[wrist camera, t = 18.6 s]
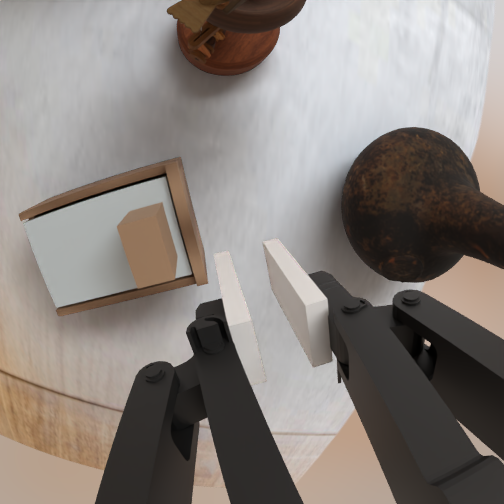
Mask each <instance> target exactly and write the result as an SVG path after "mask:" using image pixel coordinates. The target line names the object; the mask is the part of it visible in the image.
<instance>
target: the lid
mask: <svg viewBox="0 0 504 504" xmlns="http://www.w3.org/2000/svg"><path fill="white" fill-rule="evenodd" d="M23 224H24V227H25V230H26V233H27V236H28V239H29V242H30V245H31V248H32V250H33V253H34V256H35V258H36V261H37V264H38V266H39V269H40V271H41V274H42V276H43V278H44V281H45V283H46V286H47V288H48V290H49V293H50V295H51V297H52V299H53V301H54V304H55V306H56V308H58V307H62V306H66V305H70V304H74V303H78V302H82V301H86V300H90V299H94V298H98V297H102V296H106V295H111V294H115V293H119V292H123V291H127V290H131V289H135V288H138V289H139V288H143V287H147V286H151V285H155V284H159V283H163V282H167V281H171V280H175V278H179V277H183V276H187V275H191V274H192V268H191V264H190V261H189V257H188V254H187V250H186V247H185V243H184V240H183V236H182V232H181V229H180V225H179V221H178V218H177V214H176V210H175V206H174V203H173V199H172V195H171V191H170V187H169V183H168V179H167V176H163V177H159V178H156V179H152V180H148V181H145V182H141V183H138V184H135V185H131V186H128V187H125V188H121V189H118V190H115V191H111V192H108V193H105V194H102V195H99V196H96V197H93V198H90V199H87V200H84V201H81V202H78V203H75V204H72V205H69V206H66V207H63V208H61V209H58V210H55V211H52V212H50V213H47V214H44V215H41V216H39V217H36V218H34V219H31V220H28V221H26V222H25V223H23Z"/></svg>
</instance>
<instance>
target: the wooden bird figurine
mask: <svg viewBox="0 0 504 504" xmlns="http://www.w3.org/2000/svg"><path fill="white" fill-rule="evenodd" d="M305 2H306V0H182V1H180V2H178V3H176V4H174V5H173V6H171V7H169V8H168V9H167V13H168V14H170V15H173V18H174V19H178V20H177V34H178V41H179V45H180V48H181V51H182V52H183V54H184V56H185V57H186V58H187V59H188V61H189V62H190V63H192V64H193V65H194V66H195V67H197V68H199V69H200V70H202V71H205V72H207V73H211V74H215V75H222V76H229V75H237V74H241V73H244V72H247V71H249V70H251V69H253V68H254V67H256V66H257V65H259V64H260V63H261V62H262V61H263V60H264V59H265V58H266V57H267V56H268V55H269V54H270V52H271V51H272V50H273V48H274V47H275V45H276V43H277V41H278V38H279V33H280V27H281V26H283V25H285V24H287V23H288V22H290V21H291V20H292V19H293V18H294V17H295V16H297V14H298V13H299V12H300V11H301V9H302V8H303V6H304V4H305Z"/></svg>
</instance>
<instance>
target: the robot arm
mask: <svg viewBox="0 0 504 504" xmlns="http://www.w3.org/2000/svg"><path fill="white" fill-rule="evenodd" d="M263 247H264V252H265V257H266V262H267V267H268V272H269V277H270V282H271V287H272V291H273V292H274V294H275V296H276V298H277V300H278V302H279V304H280V306H281V308H282V310H283V311H284V313H285V315H286V317H287V319H288V321H289V323H290V325H291V327H292V328H293V330H294V332H295V334H296V336H297V338H298V340H299V342H300V344H301V346H302V347H303V349H304V351H305V353H306V355H307V357H308V359H309V361H310V363H311V364H312V366H313V367H316V366H320V365H323V364H326V363H329V362H332V351H333V353H334V354H335V356H336V357H337V374H338V383H341V377H342V379H343V382H344V384H345V386H346V388H347V390H348V393H349V395H350V397H351V399H352V401H353V404H354V406H355V408H356V410H357V412H358V415H359V417H360V419H361V422H362V424H363V426H364V428H365V430H366V433H367V435H368V438H369V440H370V442H371V444H372V446H373V449H374V451H375V454H376V456H377V458H378V460H379V463H380V465H381V468H382V470H383V472H384V475H385V477H386V479H387V482H388V484H389V486H390V489H391V491H392V493H393V496H394V498H395V501H396V503H397V504H504V464H503V463H502V462H501V461H500V460H499V459H498V458H497V457H494V456H493V455H491V456H482V455H481V454H479V452H478V451H477V450H476V448H475V447H474V445H473V444H472V442H471V441H470V439H469V438H468V436H467V435H466V433H465V432H464V430H463V429H462V427H461V426H460V424H459V423H458V422H457V420H458V421H459V422H460V423H462V424H463V425H464V426H465V427H466V428H467V429H468V430H469V431H471V432H472V433H473V434H474V435H475V436H476V437H477V438H479V439H480V440H481V441H482V442H483V443H484V444H485V445H487V446H488V447H489V448H490V449H491V450H492V451H494V452H495V453H496V454H497V455H498V456H499V457H500V458H501V459H502V460H504V340H503V339H502V338H500V337H498V336H497V335H495V334H493V333H492V332H490V331H488V330H487V329H485V328H483V327H482V326H480V325H478V324H477V323H475V322H474V321H472V320H470V319H468V318H467V317H465V316H463V315H461V314H460V313H458V312H456V311H455V310H453V309H451V308H450V307H448V306H446V305H444V304H443V303H441V302H439V301H437V300H436V299H434V298H432V297H430V296H429V295H427V294H425V293H423V292H421V291H418V290H404V291H401V292H398V293H397V294H396V295H394V298H393V305H387V306H379V307H373V306H372V305H371V304H370V303H369V302H368V301H367V300H365V299H362V298H355V297H352V296H351V295H350V294H349V293H348V292H347V291H346V290H345V289H344V288H343V287H342V286H341V285H340V283H339V282H338V281H336V279H335V278H334V277H333V276H332V275H331V274H328V273H326V272H323V271H320V272H316V273H312V274H309V275H307V273H306V272H305V271H304V270H303V269H302V267H301V266H300V265H299V264H298V263H297V261H296V260H295V259H294V258H293V256H292V255H291V254H290V253H289V252H288V250H287V249H286V248H285V247H284V246H283V244H282V243H281V242H280V241H279V240H278V239H277V238H276V239H272V240H268V241H264V242H263ZM214 260H215V265H216V270H217V275H218V280H219V285H220V290H221V295H222V299H218V300H214V301H210V302H206V303H202V304H200V305H199V306H198V308H197V310H196V320H195V321H194V322H192V323H191V324H190V325H189V326H188V327H187V331H186V334H187V337H188V339H189V342H190V345H191V347H192V350H193V353H194V356H193V357H192V358H191V359H189V360H188V361H187V362H185V363H183V364H181V365H179V366H176V367H173V366H172V365H171V364H170V363H168V362H163V361H158V362H154V363H150V364H148V365H146V366H144V367H143V368H142V369H141V370H140V371H139V372H138V374H137V375H136V377H135V380H134V383H133V386H132V389H131V391H130V394H129V397H128V400H127V403H126V406H125V409H124V411H123V414H122V417H121V420H120V423H119V426H118V429H117V432H116V435H115V439H114V442H113V445H112V448H111V451H110V454H109V457H108V461H107V464H106V467H105V470H104V474H103V477H102V481H101V484H100V488H99V491H98V494H97V498H96V502H95V504H191V503H192V492H193V482H194V472H195V462H196V452H197V443H198V434H199V421H201V420H203V419H205V418H207V417H208V421H209V425H210V429H211V433H212V437H213V441H214V445H215V449H216V453H217V457H218V460H219V464H220V468H221V471H222V475H223V479H224V482H225V486H226V489H227V493H228V496H229V499H230V503H231V504H303V501H302V499H301V497H300V495H299V493H298V491H297V489H296V487H295V485H294V482H293V480H292V478H291V476H290V474H289V472H288V469H287V467H286V465H285V463H284V461H283V459H282V456H281V454H280V452H279V450H278V447H277V445H276V443H275V441H274V438H273V436H272V434H271V432H270V429H269V427H268V425H267V422H266V420H265V418H264V416H263V413H262V411H261V409H260V406H259V404H258V401H257V399H256V397H255V394H254V392H253V390H252V387H251V385H255V384H259V383H263V382H266V381H267V380H266V376H265V372H264V368H263V364H262V360H261V356H260V352H259V348H258V344H257V340H256V335H255V331H254V327H253V323H252V319H251V316H250V313H249V310H248V308H247V305H246V302H245V299H244V296H243V293H242V290H241V287H240V284H239V281H238V278H237V275H236V272H235V269H234V266H233V263H232V260H231V257H230V254H229V251H224V252H220V253H216V254H214ZM425 339H426V340H427V341H429V342H430V343H431V345H430V347H429V346H427V345H425V344H424V342H425ZM456 419H457V420H456Z"/></svg>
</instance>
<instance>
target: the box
mask: <svg viewBox="0 0 504 504" xmlns="http://www.w3.org/2000/svg"><path fill="white" fill-rule="evenodd" d="M163 176H167V179H168V183H169V187H170V191H171V195H172V199H173V203H174V206H175V210H176V214H177V218H178V221H179V225H180V229H181V232H182V236H183V240H184V243H185V247H186V250H187V254H188V257H189V261H190V264H191V268H192V274H191V275H187V276H183V277H179V278H175V280H171V281H167V282H163V283H159V284H155V285H151V286H147V287H143V288H139V289H138V288H135V289H131V290H127V291H123V292H119V293H115V294H111V295H106V296H102V297H98V298H94V299H90V300H86V301H82V302H78V303H74V304H70V305H66V306H62V307H58V309H57V310H56V312H57V314H58V316H64V315H68V314H72V313H77V312H81V311H85V310H89V309H94V308H98V307H102V306H106V305H110V304H115V303H119V302H123V301H127V300H131V299H136V298H140V297H144V296H148V295H152V294H156V293H160V292H164V291H168V290H172V289H176V288H180V287H184V286H189V285H193V284H197V286H200V285H204V284H208V278H207V270H206V262H205V253H204V248H203V244H202V241H201V237H200V233H199V229H198V225H197V221H196V218H195V214H194V210H193V206H192V202H191V198H190V194H189V190H188V185H187V181H186V177H185V173H184V169H183V165H182V160H181V157H178V158H174V159H170V160H167V161H163V162H159V163H156V164H152V165H149V166H145V167H142V168H138V169H135V170H131V171H128V172H125V173H122V174H118V175H115V176H112V177H109V178H106V179H103V180H100V181H97V182H94V183H91V184H88V185H85V186H82V187H79V188H76V189H73V190H71V191H68V192H65V193H62V194H60V195H57V196H54V197H52V198H49V199H47V200H45V201H43V202H41V203H39V204H37V205H35V206H33V207H31V208H29V209H27V210H25V211H23V212H21V213H20V214H19V217H20V220H21V221H22V220H25V219H27V218H28V219H29V220H31V219H34V218H36V217H39V216H41V215H44V214H47V213H50V212H52V211H55V210H58V209H61V208H63V207H66V206H69V205H72V204H75V203H78V202H81V201H84V200H87V199H90V198H93V197H96V196H99V195H102V194H105V193H108V192H111V191H115V190H118V189H121V188H125V187H128V186H131V185H135V184H138V183H141V182H145V181H148V180H152V179H156V178H159V177H163Z"/></svg>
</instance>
